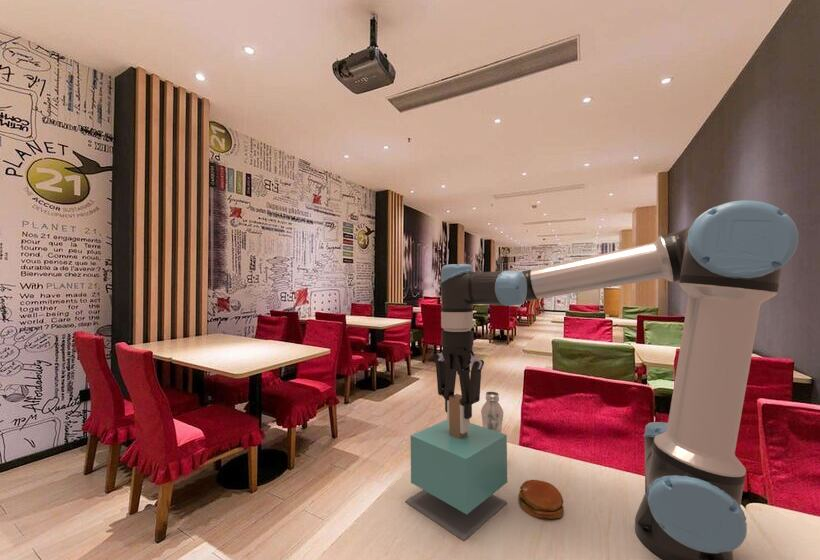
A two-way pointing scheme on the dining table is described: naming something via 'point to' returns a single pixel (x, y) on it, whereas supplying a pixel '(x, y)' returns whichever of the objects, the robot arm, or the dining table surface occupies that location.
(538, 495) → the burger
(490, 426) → the plastic bottle
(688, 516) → the robot arm
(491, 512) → the mat
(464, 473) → the teal base with peg
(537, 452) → the dining table surface
